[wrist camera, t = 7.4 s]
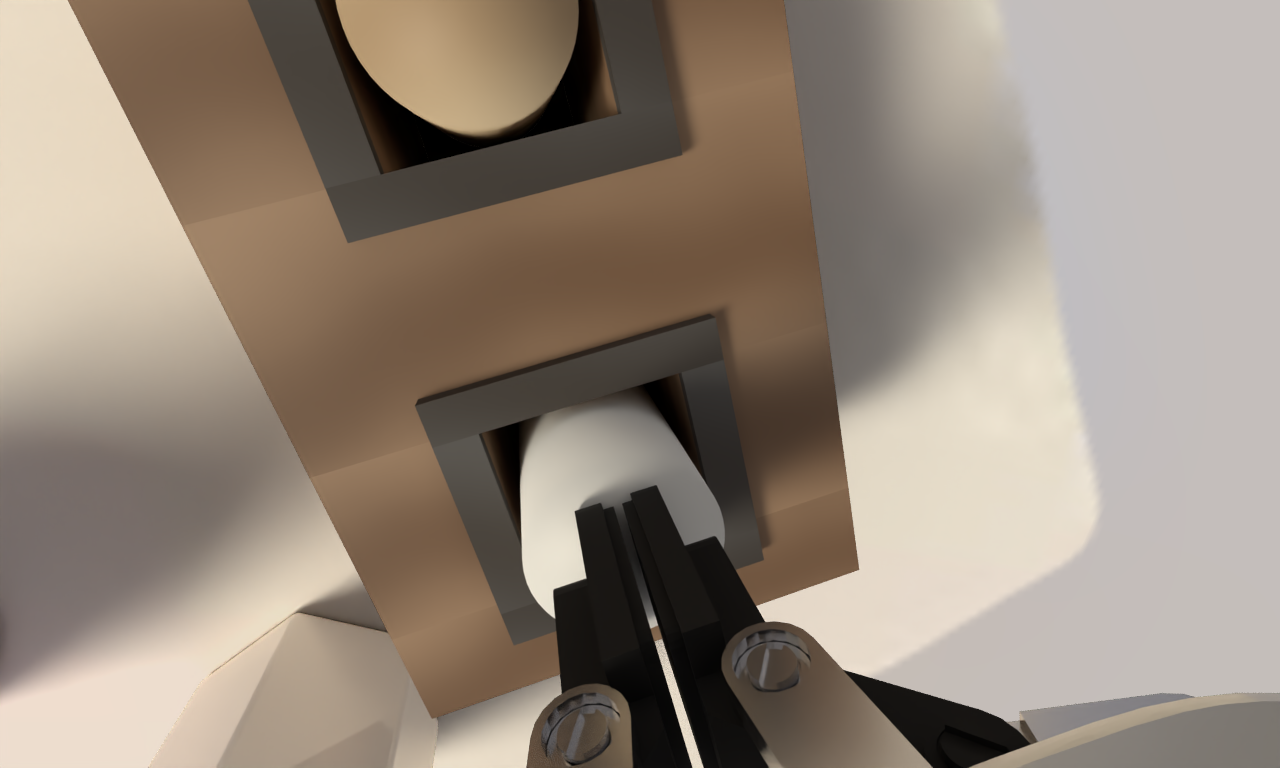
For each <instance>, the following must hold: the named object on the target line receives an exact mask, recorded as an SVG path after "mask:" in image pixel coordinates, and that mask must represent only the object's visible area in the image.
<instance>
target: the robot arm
mask: <svg viewBox="0 0 1280 768" xmlns="http://www.w3.org/2000/svg"><path fill="white" fill-rule="evenodd" d="M630 495H631V499H632V500H631V501H628V502H625V503H622V505H623V509H624V512H625V516H626V519H627V522H628V526H629V529H630V533H631V536H632V539H633V543H634V546H635V549H636V553H637V556H638V560H639V563H640V566H641V570H642V573H643V577H644V580H645V583H646V587H647V590H648V594H649V597H650V600H651V604H652V607H653V611H654V614H655V617H656V620H657V624H658V627H659V630H660V633H661V636H662V639H663V643H664V646H665V649H666V652H667V655H668V658H669V661H670V664H671V667H672V670H673V674H674V677H675V680H676V683H677V686H678V689H679V692H680V695H681V698H682V702H683V705H684V708H685V711H686V714H687V717H688V720H689V723H690V726H691V730H692V733H693V736H694V739H695V742H696V745H697V748H698V751H699V754H700V758H701V761H702V764H703V767H704V768H1280V693H1232V694H1223V695H1213V696H1204V697H1193V696H1189V695H1185V694H1164V693H1163V694H1162V693H1160V694H1153V695H1145V696H1137V697H1129V698H1122V699H1114V700H1106V701H1098V702H1090V703H1083V704H1076V705H1067V706H1060V707H1051V708H1044V709H1037V710H1028V711H1020V721H1013V722H1005V721H1004V720H1003V719H1001V718H999V717H997V716H994V715H992V714H989V713H987V712H984V711H982V710H979V709H976V708H972V707H969V706H965V705H962V704H958V703H955V702H952V701H948V700H945V699H941V698H938V697H934V696H931V695H928V694H924V693H921V692H917V691H914V690H910V689H907V688H903V687H900V686H897V685H893V684H890V683H886V682H883V681H879V680H876V679H873V678H869V677H866V676H862V675H859V674H855V673H852V672H849V671H845V670H843V669H842V668H841V667H840V666H839V665H838V664H837V663H836V662H835V661H834V660H833V659H832V657H831V656H830V655H829V654H828V653H827V652H826V651H825V650H824V649H823V648H822V647H821V645H820V644H819V643H818V642H817V641H816V640H815V639H814V638H813V637H812V636H811V635H809V634H808V633H807V632H806V631H804V630H803V629H801V628H799V627H796V626H794V625H792V624H789V623H782V622H775V621H774V622H765V621H764V619H763V617H762V616H761V614H760V612H759V610H758V609H757V607H756V605H755V603H754V602H753V600H752V598H751V596H750V594H749V593H748V591H747V589H746V587H745V586H744V584H743V582H742V580H741V579H740V577H739V575H738V573H737V572H736V570H735V568H734V566H733V565H732V563H731V561H730V559H729V558H728V556H727V554H726V552H725V551H724V549H723V547H722V545H721V543H720V542H719V540H718V539H717V537H716V536H712V537H709V538H706V539H703V540H700V541H697V542H694V543H691V544H688V545H684V543H683V541H682V538H681V536H680V534H679V532H678V530H677V528H676V526H675V523H674V521H673V519H672V517H671V515H670V513H669V511H668V508H667V506H666V504H665V502H664V500H663V498H662V496H661V493H660V491H659V489H658V487H657V485H654V486H651V487H648V488H645V489H642V490H638V491H635V492H632V493H630ZM575 517H576V523H577V529H578V534H579V540H580V545H581V551H582V557H583V562H584V568H585V573H586V579H583V580H580V581H577V582H574V583H571V584H568V585H565V586H562V587H559V588H556V589H554V590H553V601H554V612H555V623H556V634H557V645H558V656H559V667H560V678H561V690H562V694H561V695H559V696H558V697H556V698H555V699H554V700H553V701H552V702H551V703H550V704H549V705H548V706H547V707H546V708H545V709H544V710H543V711H542V713H541V714H540V716H539V718H538V719H537V721H536V722H535V724H534V728H533V731H532V735H531V738H530V745H529V752H528V760H527V767H526V768H692V765H691V762H690V758H689V755H688V752H687V748H686V745H685V742H684V738H683V735H682V732H681V728H680V725H679V722H678V718H677V715H676V712H675V708H674V705H673V702H672V698H671V695H670V692H669V688H668V685H667V682H666V678H665V675H664V672H663V668H662V665H661V662H660V658H659V655H658V652H657V649H656V645H655V642H654V639H653V635H652V632H651V629H650V625H649V622H648V619H647V615H646V612H645V609H644V605H643V602H642V599H641V596H640V592H639V589H638V586H637V582H636V579H635V576H634V572H633V569H632V566H631V562H630V559H629V556H628V553H627V549H626V546H625V543H624V539H623V536H622V533H621V529H620V526H619V523H618V519H617V516H616V513H615V510H614V506H613V507H609V508H606V509H603V507H602V504H601V503H598V504H595V505H592V506H588V507H585V508H582V509H579V510H576V511H575Z"/></svg>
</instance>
